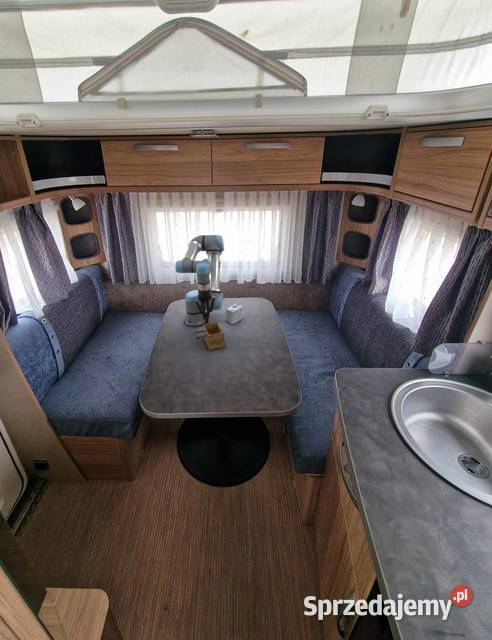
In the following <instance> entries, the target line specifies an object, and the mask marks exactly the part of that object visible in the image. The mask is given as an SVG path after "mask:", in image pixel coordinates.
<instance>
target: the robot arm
mask: <svg viewBox="0 0 492 640" xmlns="http://www.w3.org/2000/svg"><path fill="white" fill-rule="evenodd" d="M200 252H205V254H206V255H207V258H204V259H202V260H196V259H197V256H198V254H200ZM223 252H225V244H224V238H223V236H222V235H221V234H201V235H200V234H199V235H197V236H195V237H194V238H192V239H191V240H190V241H189V242H188V243H187V249H186V251H185V253H184V255H183V257H182V259H180V260H176V261H175V264H174V267H175V269H174V270H175V272H176V273H178V274H196V281H197V283H196V284H197V289H193V290H191V291H188V292H187V293H186V294H185V296H184V302H185V310H186V315H185V318H184V323H185V325H187V326H189V327H199V326H203V325H206V324H209V319H210V318H211V317H210V314H211V313H213V311H219V310H221V309H222V307H223V303H224V294H223V293H222V290H221V289H220V273H221V272H220V265H221V264H220V263H221V256H222V255H223Z"/></svg>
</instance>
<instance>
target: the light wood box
mask: <svg viewBox="0 0 492 640" xmlns="http://www.w3.org/2000/svg"><path fill="white" fill-rule="evenodd" d="M202 329H203V330H199V331H195V330H194V331H193V335H194V337H195V339H196V340H199V339H202V338H203V340H204V342H205V344H206V346H207V348H208V350H209V351H214V350H218V349H223V348H225V347H226V346H225V345H226V344H225V332H224V329H223V328H222V326H221V325H220V323H219V322H218V321H216V322H215V321H214V322H211V323H207V324H206V323H205V324H202ZM202 333H203V335H199V336H198V334H202Z"/></svg>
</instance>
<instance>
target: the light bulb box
mask: <svg viewBox="0 0 492 640" xmlns="http://www.w3.org/2000/svg"><path fill="white" fill-rule="evenodd" d="M225 314H226V315H225V316H226V317H225V319H226V322H227V323H229V324H231V325H235V324H236V323H237V322H240V321H241V320H243V306H242V305H241V304H238V303H234V304H232V305H230V306H229V307H227V308H226V309H225Z"/></svg>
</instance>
